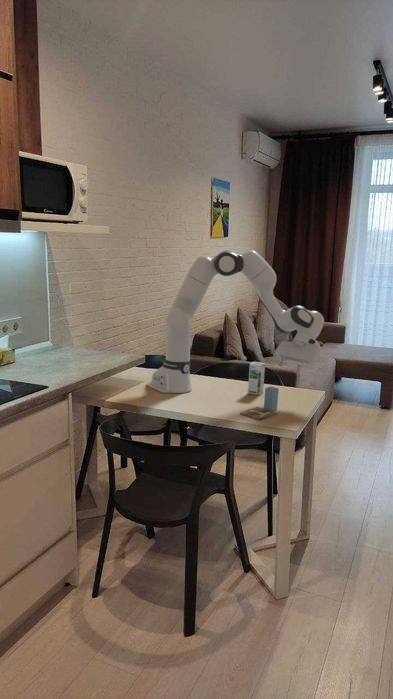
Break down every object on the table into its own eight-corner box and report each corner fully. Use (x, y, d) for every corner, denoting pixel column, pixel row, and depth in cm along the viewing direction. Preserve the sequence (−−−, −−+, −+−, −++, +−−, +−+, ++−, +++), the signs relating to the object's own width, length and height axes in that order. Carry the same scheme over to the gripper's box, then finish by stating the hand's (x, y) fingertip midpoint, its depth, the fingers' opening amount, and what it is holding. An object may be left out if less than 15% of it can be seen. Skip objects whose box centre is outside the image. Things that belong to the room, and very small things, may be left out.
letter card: (239, 414, 216) (240, 412, 216) (257, 408, 225) (257, 406, 225) (260, 420, 210) (260, 418, 209) (277, 414, 218) (277, 412, 218)
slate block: (263, 408, 225) (265, 388, 223) (269, 406, 228) (270, 386, 226) (271, 410, 222) (273, 390, 221) (277, 408, 225) (278, 388, 224)
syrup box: (247, 393, 246) (249, 363, 243) (252, 390, 251) (254, 360, 248) (258, 395, 243) (261, 365, 240) (263, 392, 248) (265, 362, 245)
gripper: (280, 335, 241) (266, 359, 236) (321, 342, 228) (307, 367, 222) (285, 343, 245) (271, 367, 240) (325, 351, 232) (311, 376, 227)
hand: (289, 367), depth 231 cm, fingers open, 8 cm apart
